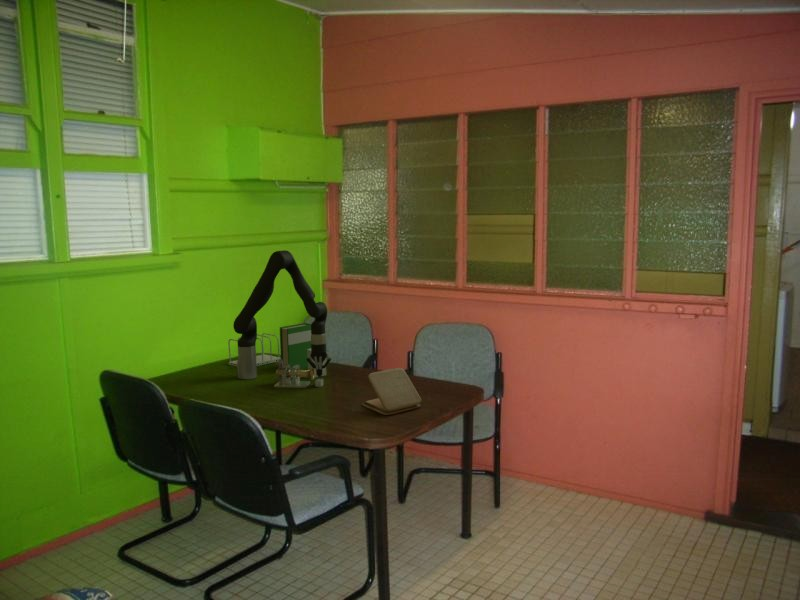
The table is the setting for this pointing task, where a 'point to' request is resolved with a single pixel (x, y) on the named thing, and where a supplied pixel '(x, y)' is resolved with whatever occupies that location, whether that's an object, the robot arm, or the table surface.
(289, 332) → the hardback book
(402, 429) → the table surface
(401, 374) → the case
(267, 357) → the file sorter
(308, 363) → the skincare box
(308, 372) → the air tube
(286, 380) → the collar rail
